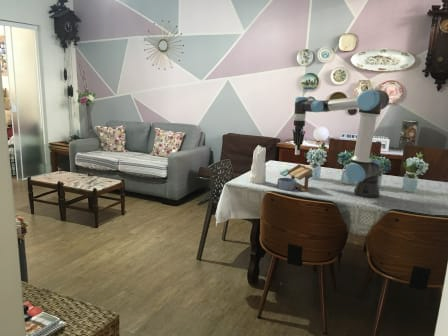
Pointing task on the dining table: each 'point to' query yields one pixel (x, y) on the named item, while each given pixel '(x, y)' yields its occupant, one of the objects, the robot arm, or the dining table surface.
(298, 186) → the pivot stand
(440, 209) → the dining table surface
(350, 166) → the robot arm
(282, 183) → the grey round container
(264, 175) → the decorative vase
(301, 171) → the tipping tray
